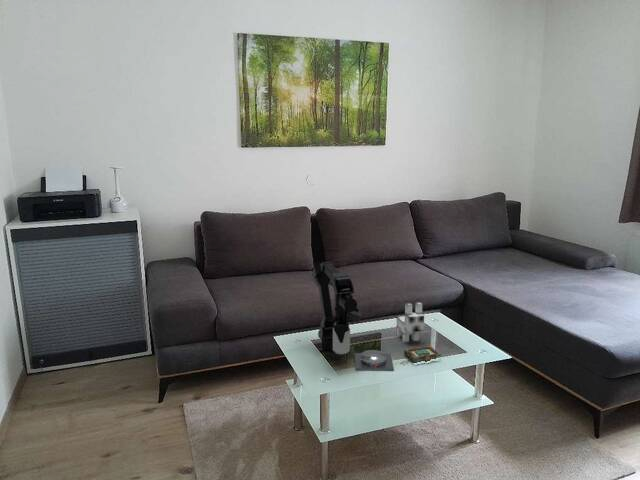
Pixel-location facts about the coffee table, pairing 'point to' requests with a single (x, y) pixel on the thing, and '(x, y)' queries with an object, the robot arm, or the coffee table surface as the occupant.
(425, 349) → the decorative book
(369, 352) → the square metal dish
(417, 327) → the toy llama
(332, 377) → the coffee table surface
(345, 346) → the can
